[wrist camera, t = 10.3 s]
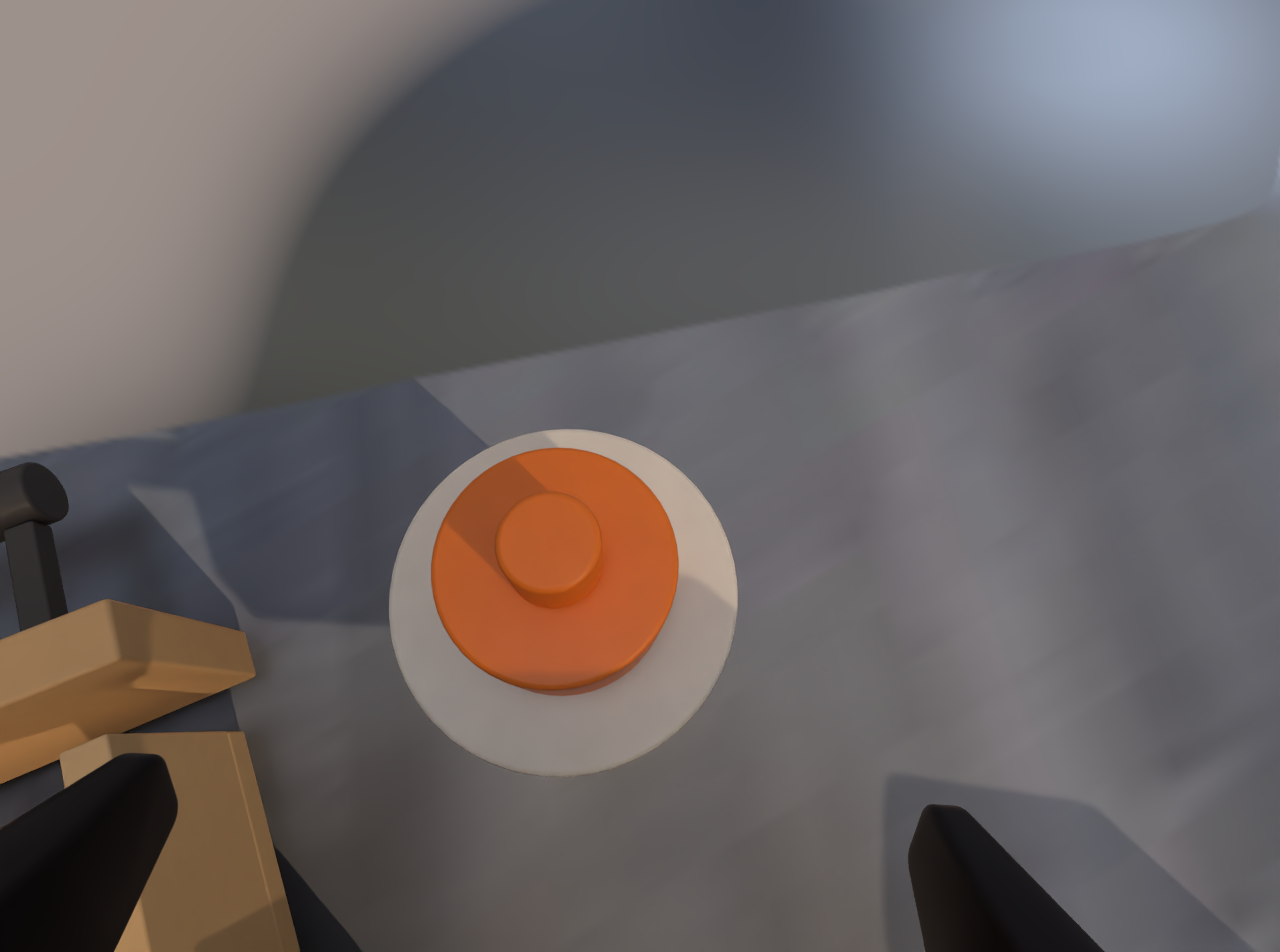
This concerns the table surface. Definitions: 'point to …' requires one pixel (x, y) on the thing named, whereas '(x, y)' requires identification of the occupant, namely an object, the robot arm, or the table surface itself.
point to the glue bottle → (563, 603)
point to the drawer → (138, 734)
